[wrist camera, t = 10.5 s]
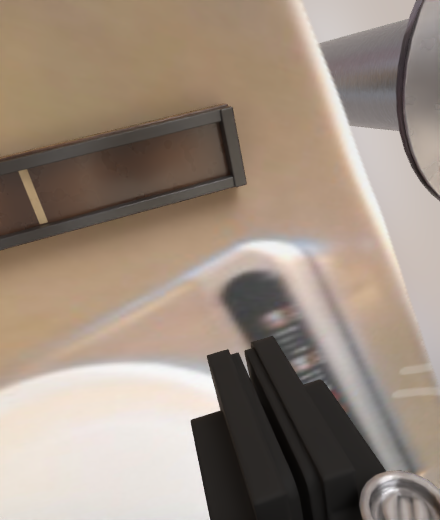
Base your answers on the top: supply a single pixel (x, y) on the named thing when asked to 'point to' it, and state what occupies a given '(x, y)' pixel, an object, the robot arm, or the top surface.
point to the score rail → (117, 174)
